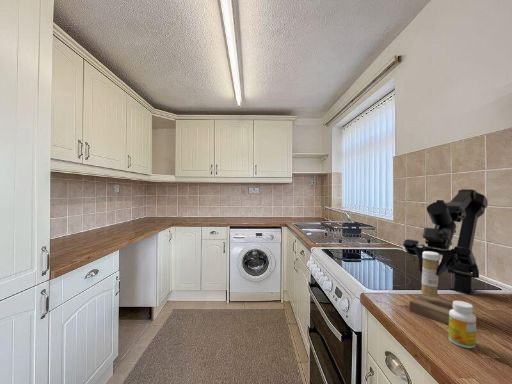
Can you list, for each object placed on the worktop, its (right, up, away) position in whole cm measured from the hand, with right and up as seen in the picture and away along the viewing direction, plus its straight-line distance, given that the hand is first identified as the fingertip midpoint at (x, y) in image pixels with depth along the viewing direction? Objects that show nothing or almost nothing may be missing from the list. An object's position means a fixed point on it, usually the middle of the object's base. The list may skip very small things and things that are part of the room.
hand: (428, 273), depth 82 cm
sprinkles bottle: (+1, -7, +1) cm, 7 cm away
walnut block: (+3, -12, -1) cm, 13 cm away
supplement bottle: (-3, -12, -17) cm, 21 cm away
